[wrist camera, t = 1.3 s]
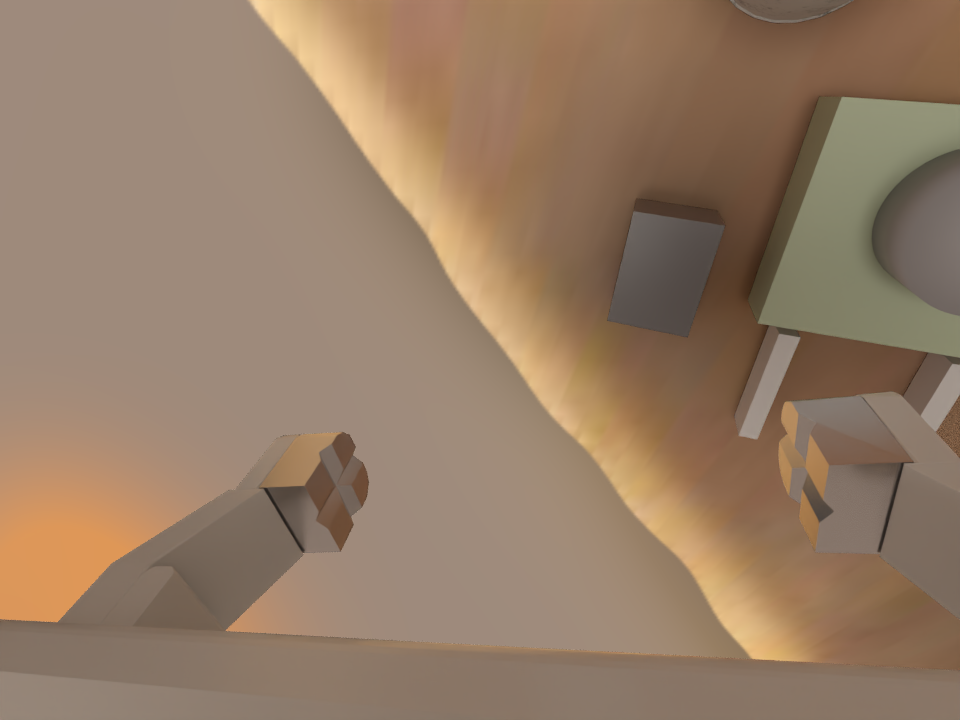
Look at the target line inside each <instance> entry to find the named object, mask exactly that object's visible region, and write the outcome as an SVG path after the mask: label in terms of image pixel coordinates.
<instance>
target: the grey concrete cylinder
mask: <svg viewBox="0 0 960 720" xmlns="http://www.w3.org/2000/svg"><path fill="white" fill-rule="evenodd" d="M730 1H731V2H732V3H733V5H734V6H735V7H736V8H738V9H740V10H741V11H743V12H745V13H746V14H748V15H750V16H751V17H753V18H756V19H760V20H764V21H768V22H772V23H797V22H801V21H806V20H810V19H814V18H819V17H821V16H824V15H826V14H828V13H830V12H832V11H835V10H837V9H839V8H841V7H843V6H845V5H847V4H848V3H850V2H851V1H853V0H730Z"/></svg>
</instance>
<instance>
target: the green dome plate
mask: <svg viewBox="0 0 960 720" xmlns="http://www.w3.org/2000/svg"><path fill="white" fill-rule="evenodd" d="M748 302H749V305H750V307H751V309H752V312H753V314H754V316H755V319H756V321H757V323H758V324H764V325H769V327H768V330H767V332H766V335H765V337H764V340H763V343H762V345H761V348H760V350H759V353H758V356H757V358H756V361H755V363H754V366H753V369H752V371H751V374H750V376H749V379H748V381H747V384H746V387H745V389H744V392H743V394H742V397H741V400H740V402H739V405H738V407H737V410H736V413H735V415H734V418H735V422H736V426H737V431H738V435H739V436H743V437H748V438H752V439H758V436H759V434H760V432H761V429H762V427H763V425H764V422H765V420H766V417H767V415H768V413H769V410H770V408H771V406H772V403H773V401H774V399H775V396H776V394H777V392H778V389H779V387H780V385H781V382H782V380H783V378H784V375H785V373H786V370H787V368H788V366H789V363H790V361H791V359H792V356H793V354H794V352H795V349H796V347H797V345H798V342H799V340H800V338H801V337H800V336H799V334H798V332H797V331H796V330H799V331H805V332H811V333H817V334H823V335H829V336H835V337H841V338H847V339H852V340H858V341H864V342H870V343H876V344H882V345H888V346H894V347H900V348H906V349H911V350H917V351H923V352H928V354H927V356H926V358H925V359H924V361H923V363H922V365H921V366H920V368H919V370H918V371H917V373H916V375H915V377H914V378H913V380H912V382H911V384H910V385H909V387H908V389H907V390H906V392H905V394H904V396H903V398H904V399H905V400H906V401H907V402H908V403H909V404H910V405H911V406H912V408H913V409H914V410H915V411H916V412H917V413H918V414H919V415H920V416H921V417H922V418H923V419H924V420H925V421H926V422H927V424H928V425H929V426H930V427H931V428H932V429H933V430H934V431H935V432H936V431H937V429H938V428H939V426H940V425H941V423H942V422H943V420H944V418H945V417H946V415H947V414H948V412H949V411H950V409H951V408H952V406H953V404H954V403H955V401H956V400H957V398H958V397H959V395H960V105H956V104H941V103H926V102H911V101H897V100H882V99H867V98H852V97H819V99H818V102H817V104H816V107H815V110H814V113H813V116H812V119H811V122H810V124H809V127H808V130H807V133H806V136H805V139H804V141H803V144H802V147H801V150H800V153H799V156H798V158H797V161H796V164H795V167H794V170H793V173H792V175H791V178H790V181H789V184H788V187H787V190H786V192H785V195H784V198H783V201H782V204H781V207H780V209H779V212H778V215H777V218H776V221H775V224H774V227H773V229H772V232H771V235H770V238H769V241H768V244H767V246H766V249H765V252H764V255H763V258H762V261H761V263H760V266H759V269H758V272H757V275H756V278H755V280H754V283H753V286H752V289H751V292H750V295H749V297H748Z"/></svg>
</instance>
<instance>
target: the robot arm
mask: <svg viewBox="0 0 960 720" xmlns="http://www.w3.org/2000/svg"><path fill="white" fill-rule="evenodd" d="M781 422H782V424H783V426H784V428H785V430H786V432H787V434H786V435H785V436H784V437H783V438H782V439H781V440H780V441H779V452H778V459H779V467H780V474H781V477H782V480H783V484H784V486H785V488H786V491H787V493H788V495H789V497H790V498H792V499H793V500H795V501H796V502H798V503H799V504H800V513H799V519H800V521H801V524H802V526H803V528H804V530H805V532H806V534H807V536H808V538H809V541H810V543H811V545H812V547H813V549H814V551H815V552H819V553H859V554H880V557H881V558H882V559H883V560H884V561H886V562H887V563H888V564H890V565H891V566H892V567H893V568H895V569H896V570H897V571H898V572H900V573H901V574H902V575H904V576H905V577H906V578H907V579H909V580H910V581H911V582H912V583H914V584H915V585H916V586H918V587H919V588H920V589H921V590H923V591H924V592H925V593H926V594H928V595H929V596H930V597H932V598H933V599H934V600H935V601H937V602H938V603H939V604H940V605H942V606H943V607H944V608H946V609H947V610H948V611H949V612H951V613H952V614H953V615H954V616H956V617H957V618H958V619H960V458H959V457H958V456H957V455H956V453H955V452H954V451H953V450H952V449H951V448H950V447H949V446H948V445H947V444H946V443H945V442H944V441H943V440H942V439H941V437H940V436H939V435H938V434H937V433H936V432H935V431H934V430H933V429H932V428H931V427H930V426H929V425H928V424H927V422H926V421H925V420H924V419H923V418H922V417H921V416H920V415H919V414H918V413H917V412H916V411H915V410H914V409H913V408H912V406H911V405H910V404H909V403H908V402H907V401H906V400H905V399H904V398H903V397H902V396H901V395H900V394H898V393H895V392H893V391H892V392H881V393H870V394H860V395H855V396H848V397H835V398H821V399H808V400H795V401H785V403H784V406H783V408H782V416H781ZM355 448H356V446H355V444H354V443H353V440H352V438H351V437H350V435H349V434H346V433H344V432H336V433H314V434H302V435H300V434H298V435H283V436H281V437H278V438H276V439H275V440H274V442H273V443H272V444H271V445H270V447H269V448H268V449H267V450H266V452H265V453H264V454H263V455H262V457H261V458H260V459H259V460H258V462H257V463H256V464H255V465H254V467H253V468H252V469H251V470H250V472H249V473H248V474H247V475H246V477H245V478H244V479H243V480H242V482H241V483H240V484H239V485H238V487H237V488H236V489H235V490H228V491H226V492H225V493H223V494H221V495H220V496H218V497H217V498H215V499H214V500H212V501H210V502H209V503H207V504H206V505H204V506H202V507H201V508H199V509H198V510H196V511H194V512H193V513H191V514H190V515H188V516H186V517H185V518H184V519H182V520H180V521H179V522H177V523H176V524H174V525H173V526H171V527H169V528H168V529H166V530H164V531H163V532H161V533H159V534H158V535H156V536H155V537H153V538H151V539H150V540H148V541H147V542H145V543H144V544H142V545H140V546H139V547H137V548H136V549H134V550H132V551H131V552H129V553H128V554H126V555H124V556H123V557H121V558H120V559H118V560H116V561H115V562H113V563H112V564H111V565H110V566H109V567H108V568H107V569H106V570H105V571H104V572H103V573H102V575H101V576H100V577H99V578H98V579H97V580H96V581H95V582H94V583H93V584H92V585H91V586H90V588H89V589H88V590H87V591H86V592H85V593H84V594H83V595H82V596H81V597H80V599H78V601H77V602H76V603H75V604H74V605H73V606H72V607H71V608H70V609H69V610H68V612H67V613H66V614H65V615H64V616H63V617H62V618H61V619H60V620H59V621H58V622H40V621H39V622H38V621H21V620H2V619H0V720H960V670H945V669H926V668H907V667H888V666H869V665H850V664H832V663H813V662H794V661H775V660H756V659H736V658H718V657H700V656H699V657H698V656H681V655H662V654H643V653H624V652H603V651H586V650H567V649H547V648H527V647H509V646H490V645H470V644H451V643H432V642H431V643H430V642H413V641H393V640H377V639H359V638H340V637H322V636H302V635H286V634H266V633H248V632H229V631H228V632H227V631H225V630H226V629H227V628H228V627H229V626H230V625H231V624H232V623H233V622H235V620H237V619H238V618H239V617H240V616H241V615H242V614H243V613H244V612H245V611H246V610H247V609H248V608H249V607H250V606H251V605H252V604H253V603H254V602H255V601H256V600H257V599H258V598H259V597H260V596H262V595H263V594H264V593H265V592H266V591H267V590H268V589H269V588H270V587H271V586H272V585H273V584H274V583H275V582H276V581H277V580H278V579H279V578H280V577H281V576H282V575H283V574H284V573H285V572H286V571H287V570H288V569H289V568H291V567H292V566H293V565H294V564H295V563H296V562H297V561H298V560H299V559H300V558H301V557H302V556H303V553H315V552H340V551H341V550H342V548H343V546H344V543H345V541H346V540H347V538H348V535H349V533H350V531H351V529H352V527H353V525H354V524H353V521H352V518H351V516H352V515H353V514H354V513H356V512H357V511H358V510H359V509H361V508H362V506H363V504H364V502H365V500H366V497H367V493H368V485H369V481H368V475H367V471H366V468H365V466H364V464H363V462H361V461H360V460H359V459H357V458H356V457H355V456H353V454H354V451H355Z"/></svg>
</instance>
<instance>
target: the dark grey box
mask: <svg viewBox="0 0 960 720" xmlns="http://www.w3.org/2000/svg"><path fill="white" fill-rule="evenodd" d="M724 228H725V224H724V222H723V220H722V219H721V217H720V215H719V213H718V211H717V210H711V209H704V208H697V207H691V206H684V205H678V204H671V203H664V202H658V201H651V200H645V199H638V198H637V199H636V203H635V207H634V211H633V215H632V219H631V223H630V227H629V232H628V236H627V240H626V244H625V248H624V252H623V256H622V261H621V265H620V269H619V273H618V277H617V281H616V285H615V290H614V294H613V298H612V302H611V307H610V311H609V315H608V320H607V321H611V322H616V323H621V324H626V325H631V326H635V327H640V328H645V329H650V330H655V331H659V332H664V333H669V334H674V335H679V336H683V337H688V335H689V332H690V329H691V326H692V323H693V320H694V317H695V314H696V311H697V308H698V305H699V302H700V299H701V296H702V293H703V290H704V287H705V284H706V281H707V278H708V275H709V272H710V269H711V266H712V264H713V261H714V258H715V255H716V252H717V249H718V246H719V243H720V240H721V237H722V234H723V231H724Z"/></svg>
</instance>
